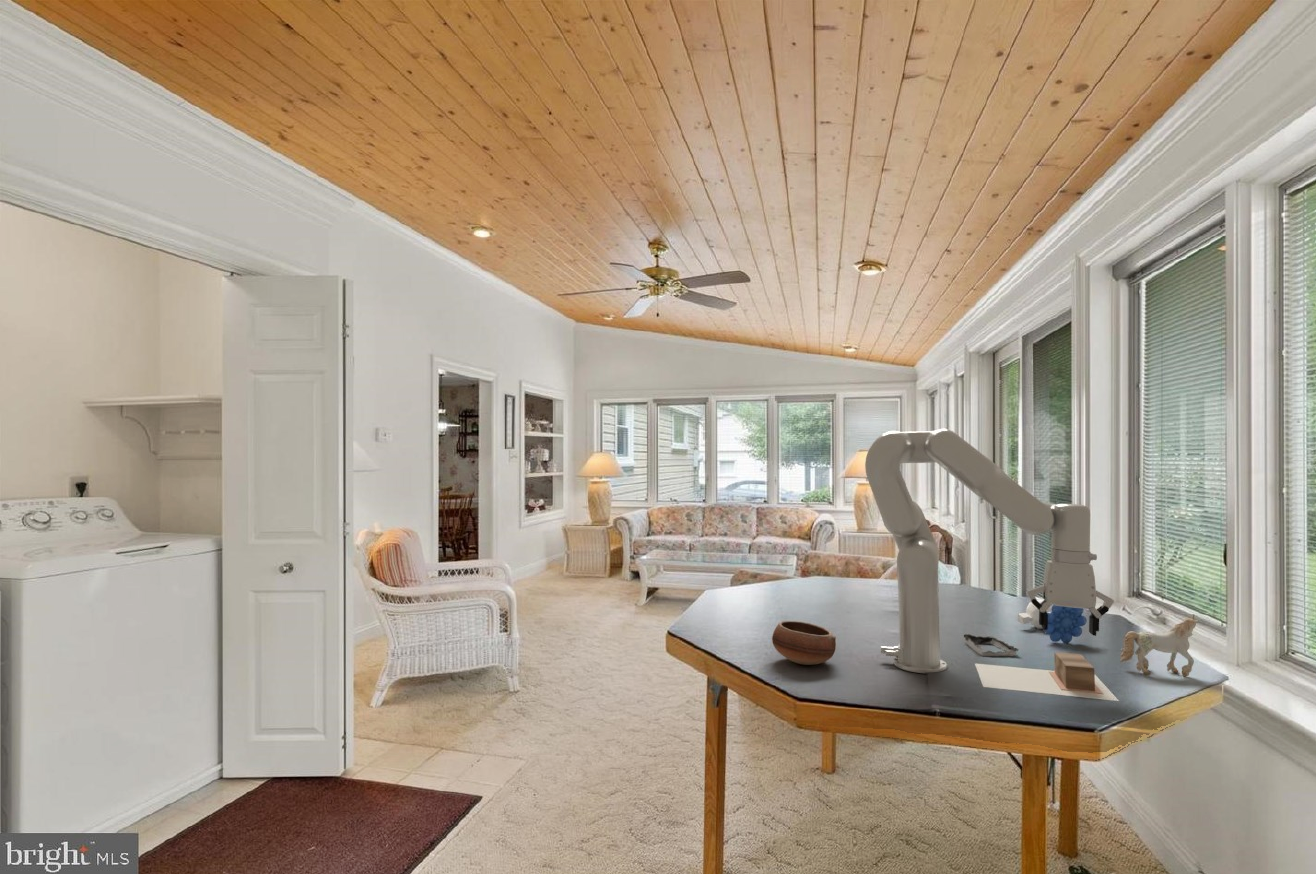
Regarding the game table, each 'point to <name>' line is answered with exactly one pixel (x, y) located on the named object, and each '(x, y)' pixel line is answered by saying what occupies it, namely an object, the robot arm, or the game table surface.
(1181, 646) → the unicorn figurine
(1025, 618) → the perfume bottle
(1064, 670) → the walnut block
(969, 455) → the robot arm
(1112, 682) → the game table surface
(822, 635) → the bowl
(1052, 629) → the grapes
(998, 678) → the rubber mat
